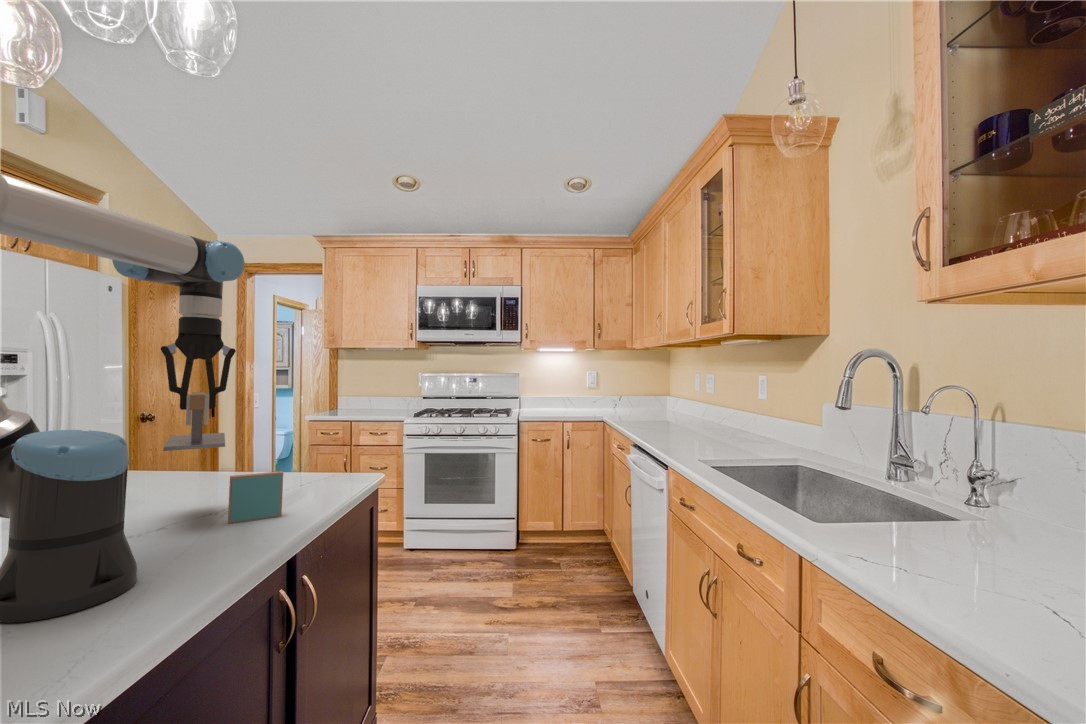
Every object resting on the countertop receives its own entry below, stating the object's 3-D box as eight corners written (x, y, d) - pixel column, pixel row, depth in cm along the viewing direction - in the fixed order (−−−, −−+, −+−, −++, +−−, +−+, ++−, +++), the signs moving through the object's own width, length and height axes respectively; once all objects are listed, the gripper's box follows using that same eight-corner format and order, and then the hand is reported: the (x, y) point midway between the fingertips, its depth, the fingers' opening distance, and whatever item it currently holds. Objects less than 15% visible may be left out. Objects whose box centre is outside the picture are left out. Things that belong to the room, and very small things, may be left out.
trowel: (225, 446, 95) (226, 395, 95) (163, 451, 89) (165, 396, 89) (224, 436, 108) (225, 391, 108) (170, 439, 102) (171, 391, 102)
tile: (281, 516, 102) (283, 472, 102) (227, 524, 96) (230, 477, 96) (280, 514, 103) (282, 471, 104) (227, 522, 98) (229, 475, 98)
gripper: (242, 321, 106) (239, 420, 106) (156, 315, 97) (153, 424, 97) (243, 319, 100) (240, 424, 100) (152, 312, 91) (148, 428, 91)
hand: (197, 424), depth 98 cm, fingers closed on trowel, 2 cm apart
